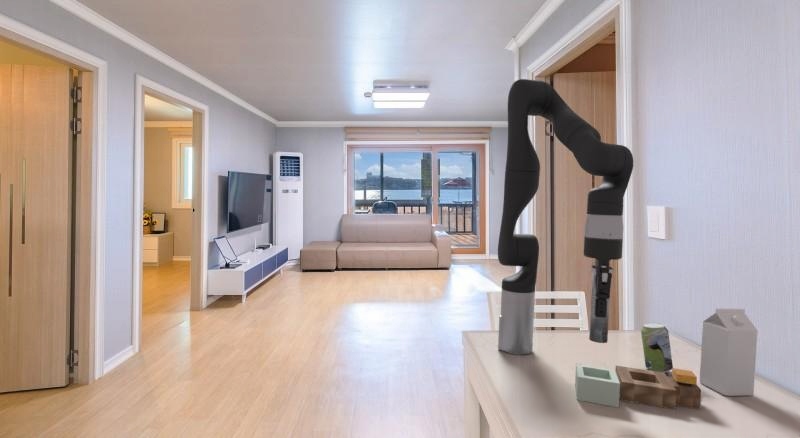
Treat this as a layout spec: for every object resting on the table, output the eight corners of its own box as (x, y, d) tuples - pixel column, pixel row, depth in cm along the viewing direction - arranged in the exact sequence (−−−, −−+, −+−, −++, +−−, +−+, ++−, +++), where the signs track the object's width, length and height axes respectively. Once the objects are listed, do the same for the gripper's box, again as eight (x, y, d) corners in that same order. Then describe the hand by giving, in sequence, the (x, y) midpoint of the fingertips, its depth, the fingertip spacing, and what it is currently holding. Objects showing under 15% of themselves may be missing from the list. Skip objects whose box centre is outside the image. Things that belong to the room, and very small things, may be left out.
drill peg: (589, 341, 89) (593, 277, 89) (588, 336, 93) (591, 274, 92) (608, 344, 88) (611, 278, 88) (606, 339, 91) (609, 276, 91)
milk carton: (699, 382, 100) (703, 304, 99) (726, 382, 100) (731, 305, 100) (724, 396, 93) (729, 312, 92) (753, 396, 93) (759, 312, 93)
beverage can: (676, 376, 103) (679, 329, 102) (644, 373, 104) (647, 326, 104) (666, 367, 109) (668, 322, 109) (635, 364, 110) (637, 319, 110)
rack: (576, 399, 88) (577, 376, 88) (575, 384, 96) (576, 363, 96) (618, 407, 86) (619, 383, 85) (613, 391, 93) (614, 369, 93)
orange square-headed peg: (675, 400, 88) (676, 374, 88) (670, 393, 92) (672, 368, 91) (695, 403, 87) (696, 377, 87) (690, 396, 90) (691, 370, 90)
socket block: (621, 400, 89) (622, 381, 89) (614, 382, 98) (615, 365, 98) (704, 414, 84) (705, 395, 84) (689, 394, 93) (690, 376, 93)
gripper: (628, 239, 82) (623, 325, 82) (618, 235, 95) (614, 309, 95) (586, 236, 84) (582, 320, 85) (582, 233, 98) (578, 305, 98)
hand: (599, 314), depth 90 cm, fingers closed on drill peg, 3 cm apart
